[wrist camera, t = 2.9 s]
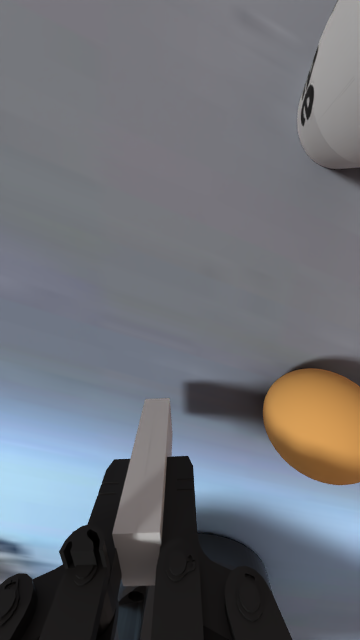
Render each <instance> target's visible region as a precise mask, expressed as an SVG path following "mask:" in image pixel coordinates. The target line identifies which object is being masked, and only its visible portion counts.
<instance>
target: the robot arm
mask: <svg viewBox="0 0 360 640" xmlns="http://www.w3.org/2000/svg"><path fill="white" fill-rule="evenodd" d="M171 455H172V422H171V409H170V398H161V399H145V402H144V406H143V410H142V414H141V418H140V422H139V426H138V430H137V435H136V439H135V443H134V447H133V451H132V455H131V459H114V461H113V462H112V463H111V465H110V466H109V467H108V469H107V470H106V473H105V476H104V478H103V481H102V485H101V487H100V490H99V494H98V496H97V499H96V502H95V505H94V507H93V510H92V513H91V516H90V519H89V522H88V525H85V526H82V527H80V528H79V529H77V530H76V531H74V532H73V533H72V534H71V535H70V536H69V537H68V538H67V539H66V541H65V542H64V544H63V546H62V548H61V549H60V551H59V553H60V556H61V559H62V562H63V565H61V566H60V567H58V568H56V569H54V570H52V571H50V572H48V573H46V574H43V575H41V576H39V577H37V578H35V579H32V578H31V577H30V576H28V575H27V574H20V573H18V574H16V575H14V576H12V577H9V578H8V579H7V580H5V581H4V582H3V583H2V584H0V640H292V638H291V636H290V633H289V631H288V629H287V627H286V624H285V622H284V620H283V617H282V615H281V613H280V610H279V608H278V606H277V604H276V601H275V599H274V597H273V594H272V591H271V587H270V583H269V580H268V576H267V573H266V569H265V567H264V565H263V563H262V561H261V560H260V558H259V557H258V556H257V555H256V554H255V553H254V552H253V551H251V550H250V549H249V548H247V547H246V546H244V545H242V544H240V543H238V542H236V541H234V540H231V539H228V538H225V537H221V536H216V535H210V534H201V533H197V523H196V507H195V491H194V474H193V465H192V463H191V461H190V459H189V457H188V456H176V457H171Z"/></svg>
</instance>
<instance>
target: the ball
mask: <svg viewBox="0 0 360 640" xmlns="http://www.w3.org/2000/svg"><path fill="white" fill-rule="evenodd" d="M263 420H264V425H265V429H266V432H267V435H268V437H269V439H270V441H271V443H272V445H273V446H274V448H275V449H276V451H277V452H278V453H279V454H280V456H281V457H282V458H283V459H284V460H285V461H286V462H287V463H288V464H289V465H290V466H292V467H293V468H294V469H296V470H297V471H299V472H300V473H302V474H304V475H305V476H307V477H309V478H311V479H314V480H317V481H320V482H323V483H327V484H333V485H348V484H355V483H359V482H360V386H358V385H357V384H356V383H354V382H352V381H351V380H349V379H348V378H346V377H344V376H342V375H339V374H337V373H334V372H331V371H327V370H323V369H315V368H306V369H299V370H295V371H292V372H289V373H287V374H285V375H283V376H282V377H280V378H279V379H278V380H276V381H275V382H274V383H273V385H272V386H271V387H270V389H269V390H268V393H267V395H266V397H265V400H264V406H263Z"/></svg>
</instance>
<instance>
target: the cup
mask: <svg viewBox="0 0 360 640" xmlns="http://www.w3.org/2000/svg"><path fill="white" fill-rule="evenodd" d="M297 127H298V134H299V138H300V141H301V144H302V146H303V148H304V150H305V152H306V153H307V154H308V156H309V157H310V158H311V159H312V160H313V161H314V162H316V163H317V164H319V165H321V166H323V167H326V168H331V169H345V168H359V167H360V0H338V1H337V3H336V5H335V7H334V10H333V12H332V14H331V16H330V18H329V20H328V22H327V24H326V27H325V29H324V31H323V34H322V36H321V39H320V42H319V45H318V48H317V51H316V54H315V57H314V60H313V63H312V66H311V69H310V72H309V75H308V78H307V81H306V84H305V87H304V90H303V93H302V96H301V99H300V102H299V107H298V114H297Z"/></svg>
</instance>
